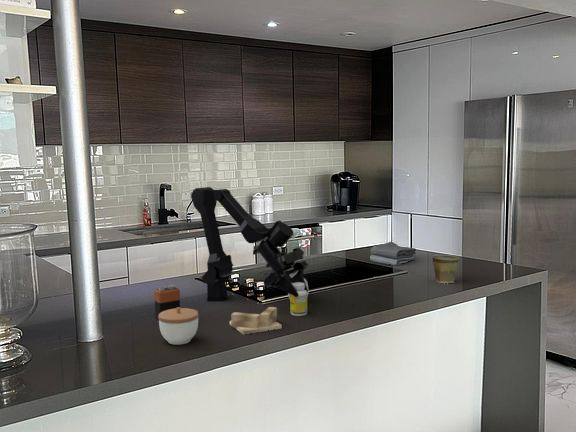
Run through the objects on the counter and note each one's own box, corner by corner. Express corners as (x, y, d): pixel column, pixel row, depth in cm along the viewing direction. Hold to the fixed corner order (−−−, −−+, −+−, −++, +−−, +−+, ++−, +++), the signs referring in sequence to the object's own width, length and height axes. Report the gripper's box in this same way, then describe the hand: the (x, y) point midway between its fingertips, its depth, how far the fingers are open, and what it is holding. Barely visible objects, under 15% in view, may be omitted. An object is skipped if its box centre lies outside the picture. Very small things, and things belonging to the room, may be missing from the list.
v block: (225, 324, 166) (225, 310, 166) (269, 317, 173) (269, 303, 172) (239, 335, 156) (239, 320, 156) (285, 327, 163) (285, 312, 162)
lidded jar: (205, 342, 151) (204, 309, 150) (167, 350, 145) (166, 315, 144) (189, 332, 160) (189, 300, 159) (153, 339, 154) (152, 306, 153)
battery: (181, 317, 174) (180, 286, 173) (160, 321, 170) (159, 289, 169) (174, 314, 177) (173, 283, 176) (154, 318, 173) (153, 286, 172)
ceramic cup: (457, 286, 210) (458, 260, 209) (430, 284, 214) (430, 258, 212) (460, 278, 222) (460, 254, 221) (434, 276, 226) (435, 252, 224)
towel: (368, 262, 256) (368, 245, 255) (389, 256, 270) (390, 240, 269) (397, 267, 246) (397, 249, 245) (417, 260, 259) (418, 244, 258)
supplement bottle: (289, 311, 179) (289, 281, 178) (306, 311, 179) (306, 281, 178) (291, 316, 174) (290, 285, 172) (308, 316, 174) (308, 285, 173)
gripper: (271, 244, 168) (302, 285, 163) (303, 236, 184) (332, 272, 179) (250, 267, 173) (280, 307, 169) (283, 257, 189) (311, 293, 184)
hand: (302, 294), depth 175 cm, fingers closed on supplement bottle, 5 cm apart
